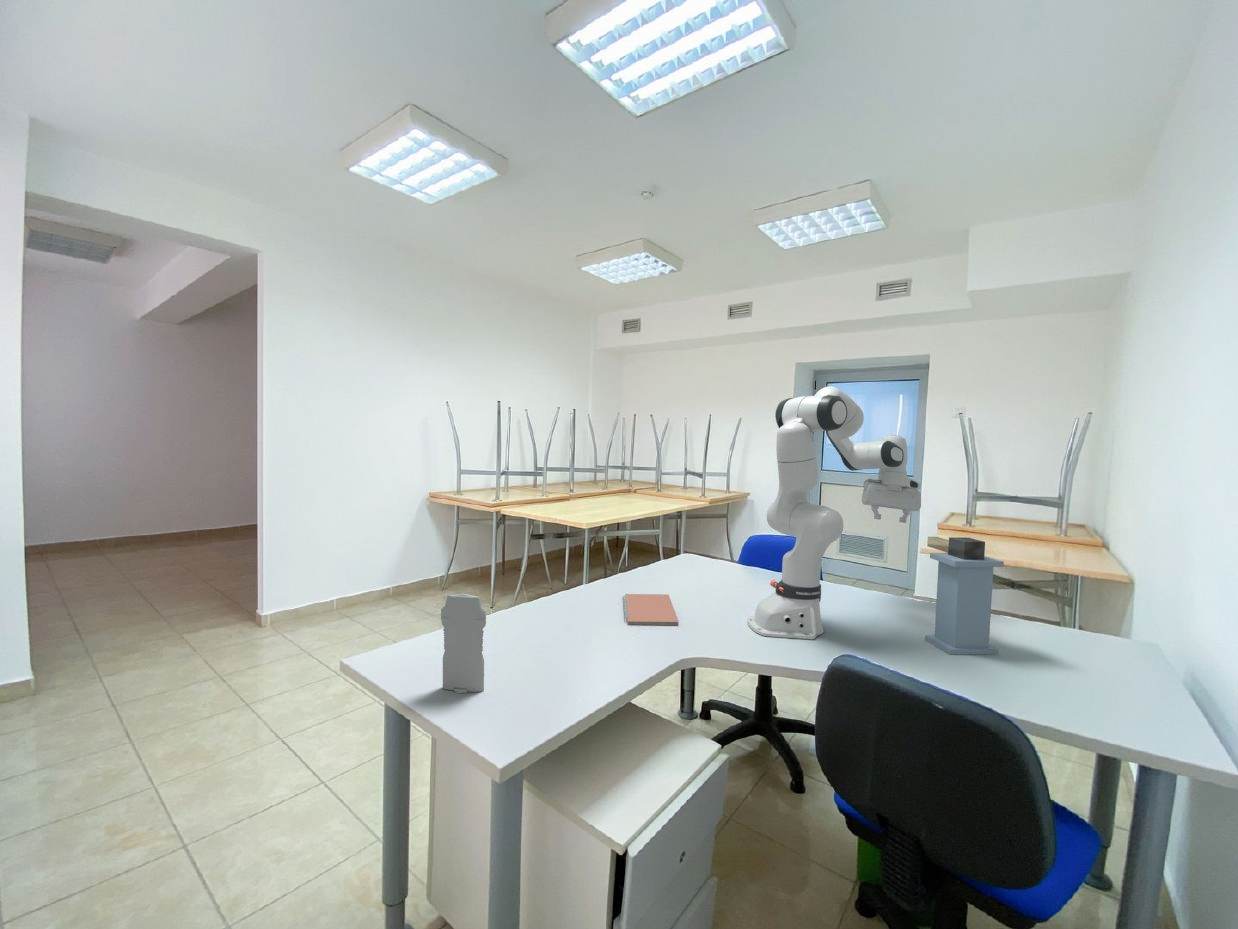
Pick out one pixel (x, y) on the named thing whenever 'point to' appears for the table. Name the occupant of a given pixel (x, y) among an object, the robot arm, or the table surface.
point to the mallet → (959, 547)
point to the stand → (963, 605)
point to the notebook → (649, 609)
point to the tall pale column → (463, 643)
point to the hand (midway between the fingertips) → (890, 520)
